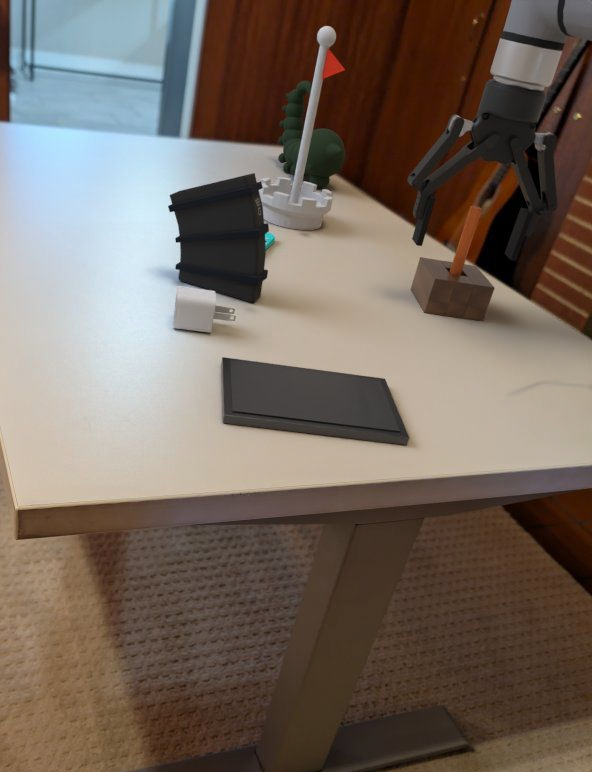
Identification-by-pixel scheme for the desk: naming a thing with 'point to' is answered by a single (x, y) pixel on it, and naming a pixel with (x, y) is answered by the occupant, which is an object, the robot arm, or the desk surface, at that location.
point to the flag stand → (303, 160)
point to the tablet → (309, 401)
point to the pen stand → (451, 290)
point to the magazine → (222, 236)
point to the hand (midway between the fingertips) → (463, 250)
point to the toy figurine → (323, 146)
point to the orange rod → (465, 240)
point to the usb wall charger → (198, 310)
